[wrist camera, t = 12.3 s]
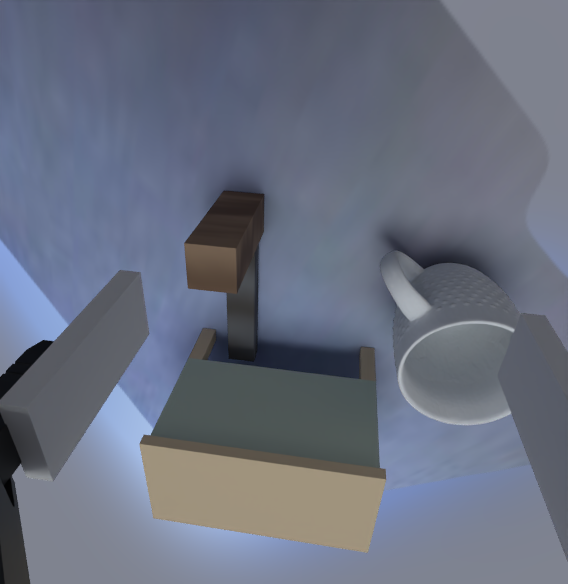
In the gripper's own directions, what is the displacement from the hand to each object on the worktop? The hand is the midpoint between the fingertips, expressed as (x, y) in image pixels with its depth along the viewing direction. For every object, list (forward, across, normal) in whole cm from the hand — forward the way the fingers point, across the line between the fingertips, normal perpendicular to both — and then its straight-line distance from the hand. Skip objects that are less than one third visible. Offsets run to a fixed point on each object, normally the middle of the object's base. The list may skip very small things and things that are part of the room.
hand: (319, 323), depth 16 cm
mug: (+29, +11, -14) cm, 34 cm away
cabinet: (+29, -4, -28) cm, 40 cm away
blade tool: (+29, -9, -16) cm, 34 cm away
